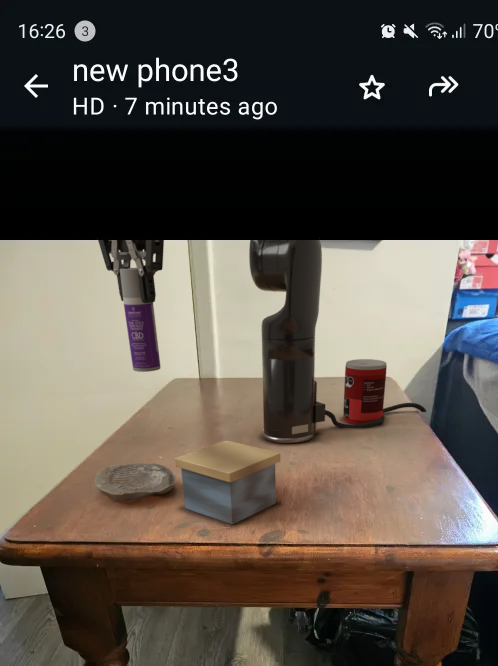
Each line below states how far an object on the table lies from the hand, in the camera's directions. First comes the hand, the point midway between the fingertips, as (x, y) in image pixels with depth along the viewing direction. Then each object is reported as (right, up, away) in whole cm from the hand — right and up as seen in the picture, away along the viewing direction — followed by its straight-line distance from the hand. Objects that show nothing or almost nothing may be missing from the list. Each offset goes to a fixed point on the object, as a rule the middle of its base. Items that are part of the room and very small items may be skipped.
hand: (138, 301), depth 94 cm
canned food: (+40, -12, +24) cm, 48 cm away
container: (0, -9, +6) cm, 11 cm away
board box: (+16, -35, -13) cm, 41 cm away
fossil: (+2, -33, -8) cm, 34 cm away
